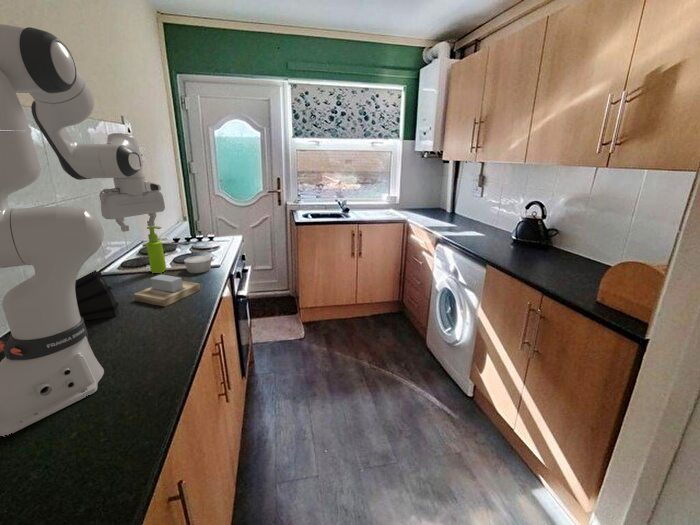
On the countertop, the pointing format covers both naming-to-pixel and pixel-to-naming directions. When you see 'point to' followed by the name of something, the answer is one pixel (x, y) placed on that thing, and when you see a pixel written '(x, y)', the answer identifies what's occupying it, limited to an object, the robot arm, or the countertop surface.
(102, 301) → the black ridged block
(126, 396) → the countertop surface
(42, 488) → the countertop surface
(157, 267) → the soap dispenser
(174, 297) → the board
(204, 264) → the ramekin
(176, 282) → the block
